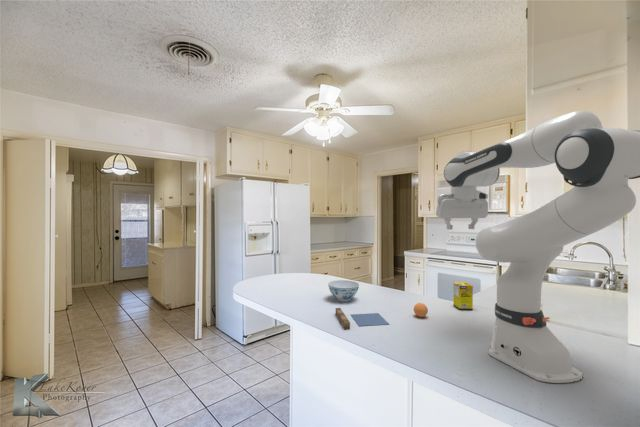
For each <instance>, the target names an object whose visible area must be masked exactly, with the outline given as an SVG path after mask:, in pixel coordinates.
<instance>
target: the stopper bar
mask: <svg viewBox="0 0 640 427" xmlns="http://www.w3.org/2000/svg"><path fill="white" fill-rule="evenodd" d="M335 316H336V317H337V319H338V321H339V323H340V325H342V328H343V329H344V330H351V322H350V320H349V319H348V317H347V315H346V314H345V313H344V312H343V310H342V309H341V307H336V308H335Z"/></svg>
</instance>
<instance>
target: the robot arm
mask: <svg viewBox="0 0 640 427" xmlns="http://www.w3.org/2000/svg"><path fill="white" fill-rule="evenodd" d="M553 164H555V166H556V168H557V170H558V171H559V173H560V174H561V175H562V177H563V180H564V182H565V183H566V184H568V185H570V186H573V187H572V188H570V190H568V191H566V192H564V193H563V194H561V195H560V196H557V197H556V198H554V199H553V200H551V201H549V202H547V203H545V204H544V205H543V206H541V207H539V208H537V209H535V210H534V211H530V212H528V213H526V214H523V215H521V216H518V217H516V218H511V219H510V220H508V221H506V222H503V223H500V224H497V225H494V226H490V227H487V228H483V229H481V230H480V231H479V232H478V234H477V236H476V238H475V248H476V250H477V253H478V254H479V255H480V257H482V258H483V259H484V260H487V261H491V262H496V263H510V264H509V265H508V268H507V270H506V271H505V272H503V273H502V274H500V276H499V277H498V278H497V281H496V303H495V305H494V316H495V322H494V325H493V329H492V338H491V344H490V345H489V346H490V347H489V350H488V355H489V356H491V357H493V359H494V358H495V359H496V360H498V361H501V362H503V363H504V364H506V365H508V366H509V367H512V368H514V369H515V370H517V371H519V372H521V373H523V374H525V375H526V376H528V377H531V378H533V379H534V380H536V381H539V382H544V383H553V384H566V383H573V382H574V381H575V382H578V381H580V379H581V380H582V379H583V378H584V374H583V371H581V370H579V369H578V368H576V367H575V366H573V365H572V361H571V355H570V352H569V350H568V348H567V347H566V346H565V345H564V344H563V343H562V341H560V339H558V337H557V336H556V335H555V334H554V332H552V330H550V328H548V326H547V322H550V320H549V319H550V317H545V315H544V312H543V310H542V309H541V306H542V305H541V304H542V289H543V288H542V286H543V282H544V278H545V275H546V273H547V272H548V269H549V268H550V265H551V263H552V262H553V261H554V260H555V259H557V257H559V256H560V255H561V254H562V252H563V251H564V247H565V246H568V245H569V244H572V243H574V242H577V241H578V240H581V239H583V238H586V237H588V236H590V235H592V234H594V233H597V232H599V231H601V230H603V229H605V228H607V227H609V226H611V225H612V224H614V223H616V222H617V221H619V220H621V219H622V218H624V217H626V216H627V215H628V214H629V213H631V212H632V211H633V209H635V206H636V205H637V204H636V203H637V198H636V194H635V192H634V190H633V189H632V188H631V187H630V186H629V180H634V179H639V178H640V130H635V129H633V130H632V129H631V130H630V129H625V128H621V127H620V128H619V127H618V128H613V127H612V128H611V127H610V128H608V127H607V128H603V125H602V122H601V119H599V117H598V116H597V115H596V114H594V113H593V112H591V111H588V110H575V111H570V112H568V113H565V114H562V115H559V116H557V117H554V118H552V119H549V120H547V121H545V122H543V123H541V124H539V125H537V126H535V127H533V128H530V129H528V130H526V131H524V132H522V133H521V134H518V135H516V136H514V137H512V138H509V139H507V140H504V141H502V142H500V143H497V144H493V145H491V146H489V147H486V148H485V149H482V150H479V151H477V152H476V151H473V150H466V151H461V152H459V153H457V154H456V155H455V156H454V158H452V159H451V160H449V161H448V162H447V164H446V165H445V167H444V170H443V177H444V180H445V181H446V183H448V184H449V185H450V193H447V194H446V193H442V194H440V195H439V196H438V197H437V206H436V210H435V215H436V217H437V218H440V219H444V222H445V224H446V230H453V227H454V226H453V224H451V221H452V220H451V219H470V220H471V222H470V224H467V225H468V230H475V227H476V224H477V223H478V222H479V219H486V218H487V217H488V214H489V202H488V199H489V194H488V193H485V192H483V191H480V190H478V189H477V188H478V187H490V186H492V185H494V184H495V183H496V182H497V181H498V179H499V177H500V173H501V172H500V168H514V169H515V168H517V169H519V168H521V169H528V168H529V169H532V168H533V169H534V168H540V167H545V166H550V165H553ZM582 377H583V378H582Z"/></svg>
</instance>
